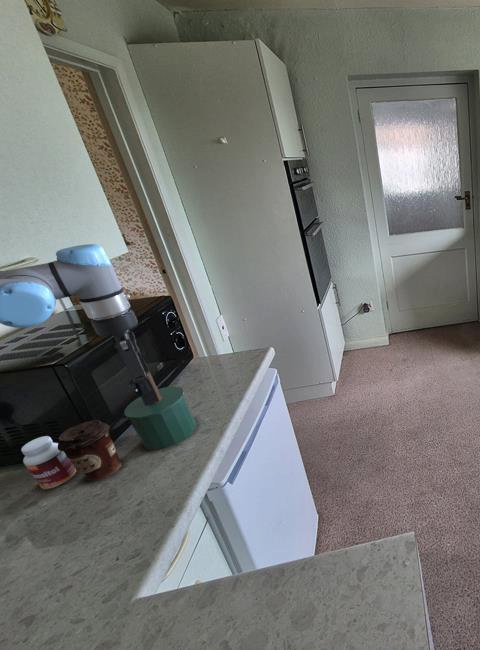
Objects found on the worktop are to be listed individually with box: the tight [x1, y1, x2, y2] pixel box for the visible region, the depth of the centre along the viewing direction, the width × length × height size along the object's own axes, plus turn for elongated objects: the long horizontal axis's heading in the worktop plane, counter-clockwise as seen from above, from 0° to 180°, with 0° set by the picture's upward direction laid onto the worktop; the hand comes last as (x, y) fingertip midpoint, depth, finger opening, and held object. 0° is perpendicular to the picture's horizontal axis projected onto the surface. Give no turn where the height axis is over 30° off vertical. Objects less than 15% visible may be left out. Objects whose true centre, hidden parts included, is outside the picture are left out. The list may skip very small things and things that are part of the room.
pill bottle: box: [20, 435, 77, 490], centre depth 87 cm, size 6×6×11 cm
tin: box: [128, 396, 197, 451], centre depth 98 cm, size 11×11×10 cm
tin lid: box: [123, 370, 185, 420], centre depth 94 cm, size 12×12×9 cm
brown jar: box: [57, 419, 122, 483], centre depth 87 cm, size 9×8×13 cm
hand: (149, 391), depth 94 cm, fingers open, 13 cm apart
